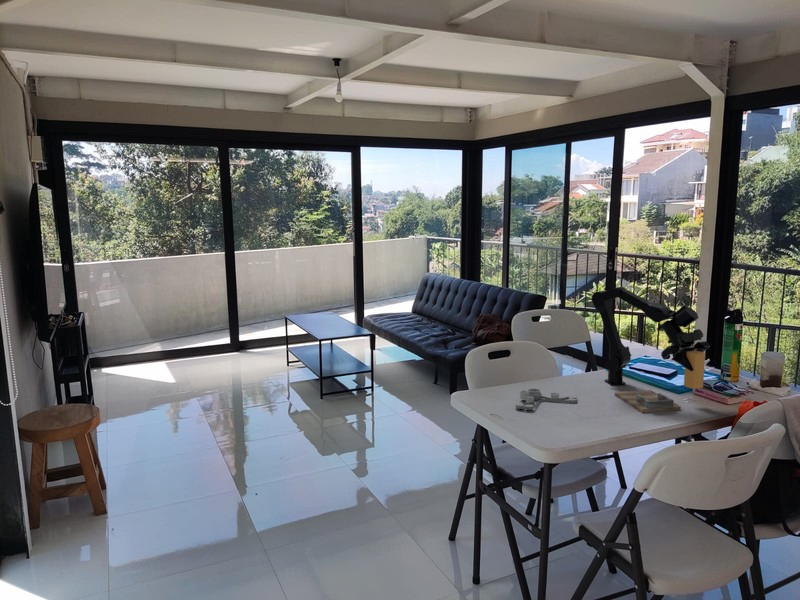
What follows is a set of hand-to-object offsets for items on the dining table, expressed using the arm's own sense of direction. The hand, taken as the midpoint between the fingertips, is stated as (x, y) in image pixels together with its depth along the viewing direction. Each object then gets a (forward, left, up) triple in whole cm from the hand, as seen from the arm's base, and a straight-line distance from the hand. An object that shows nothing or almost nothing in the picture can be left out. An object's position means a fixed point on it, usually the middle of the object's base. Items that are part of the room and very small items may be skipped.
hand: (697, 369), depth 215 cm
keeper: (-6, -16, -13) cm, 22 cm away
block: (-1, 0, -7) cm, 7 cm away
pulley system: (-15, -53, -14) cm, 57 cm away
